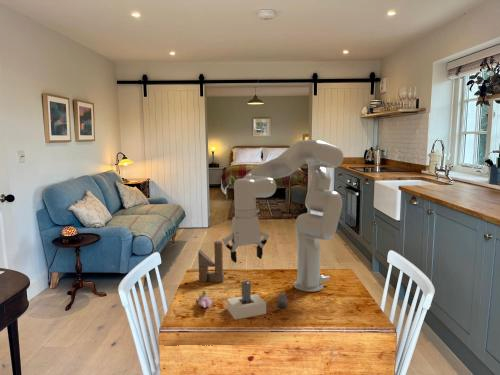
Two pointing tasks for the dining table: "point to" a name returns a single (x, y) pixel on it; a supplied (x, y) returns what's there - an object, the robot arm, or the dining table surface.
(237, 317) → the hole block
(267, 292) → the dining table surface
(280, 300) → the short pin
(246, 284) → the long pin
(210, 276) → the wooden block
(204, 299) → the pink toy figurine
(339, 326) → the dining table surface
